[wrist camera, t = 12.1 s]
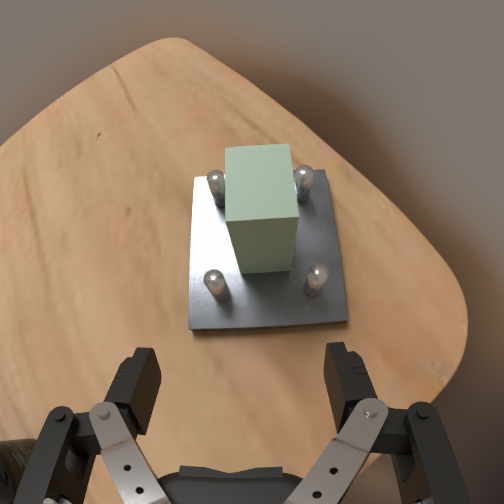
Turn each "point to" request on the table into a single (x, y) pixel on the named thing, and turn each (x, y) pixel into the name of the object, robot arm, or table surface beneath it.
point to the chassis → (267, 283)
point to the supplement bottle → (13, 466)
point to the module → (261, 207)
